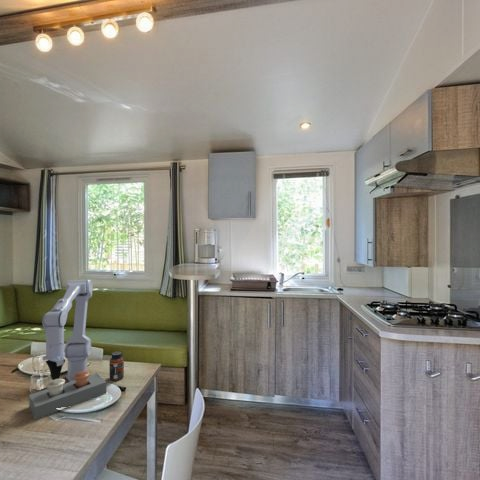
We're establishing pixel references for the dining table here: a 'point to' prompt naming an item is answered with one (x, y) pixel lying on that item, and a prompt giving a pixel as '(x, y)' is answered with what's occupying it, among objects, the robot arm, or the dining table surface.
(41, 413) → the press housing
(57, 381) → the plunger
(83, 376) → the terracotta plunger
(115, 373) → the supplement bottle
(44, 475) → the dining table surface
